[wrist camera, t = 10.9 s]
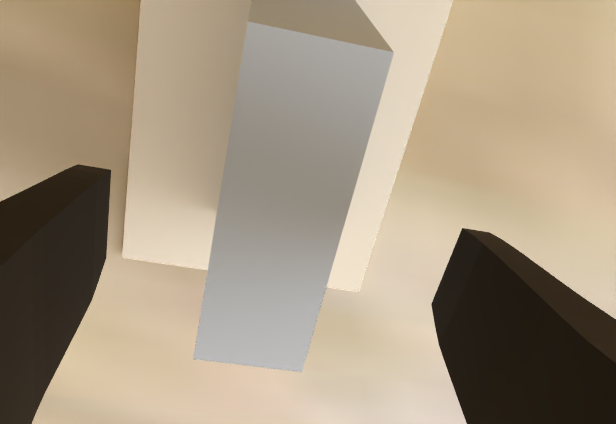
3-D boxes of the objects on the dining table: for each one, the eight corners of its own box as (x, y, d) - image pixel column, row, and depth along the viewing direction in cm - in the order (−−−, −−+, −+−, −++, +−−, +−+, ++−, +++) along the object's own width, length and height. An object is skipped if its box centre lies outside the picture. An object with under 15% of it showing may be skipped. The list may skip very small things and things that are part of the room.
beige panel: (357, 286, 25) (358, 292, 25) (124, 252, 23) (122, 258, 23) (491, -129, 17) (495, -129, 17) (159, -219, 16) (156, -221, 16)
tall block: (348, -9, 19) (394, 52, 12) (292, 224, 23) (301, 372, 16) (257, -30, 18) (247, 21, 11) (218, 212, 22) (193, 359, 15)
